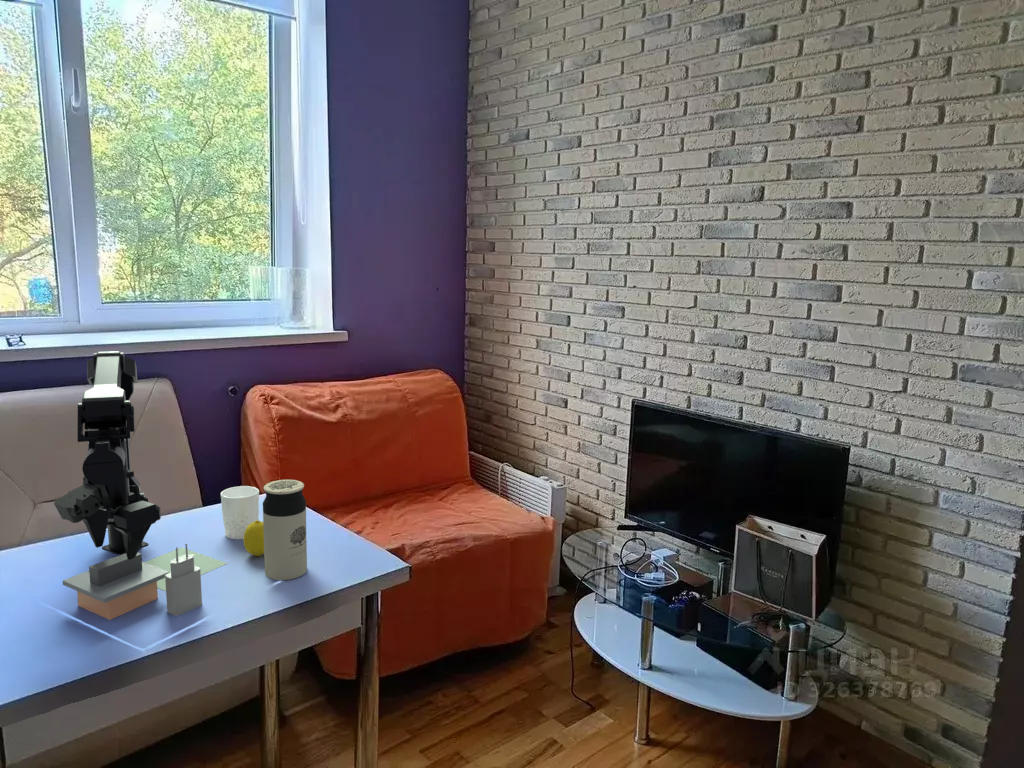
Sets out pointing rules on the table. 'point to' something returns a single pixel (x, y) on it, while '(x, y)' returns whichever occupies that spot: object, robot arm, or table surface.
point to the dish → (119, 602)
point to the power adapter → (183, 585)
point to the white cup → (239, 509)
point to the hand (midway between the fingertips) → (115, 552)
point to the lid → (115, 577)
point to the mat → (164, 560)
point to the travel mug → (284, 530)
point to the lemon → (254, 538)
